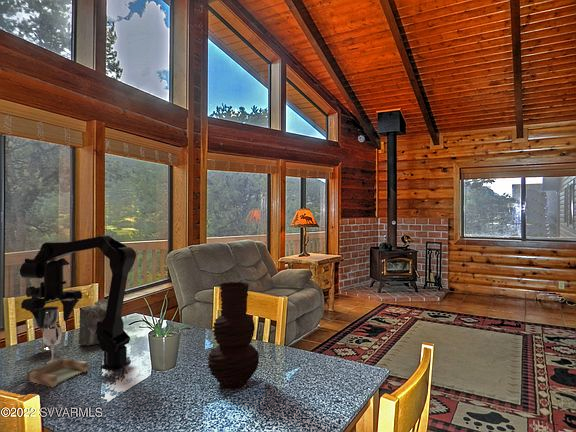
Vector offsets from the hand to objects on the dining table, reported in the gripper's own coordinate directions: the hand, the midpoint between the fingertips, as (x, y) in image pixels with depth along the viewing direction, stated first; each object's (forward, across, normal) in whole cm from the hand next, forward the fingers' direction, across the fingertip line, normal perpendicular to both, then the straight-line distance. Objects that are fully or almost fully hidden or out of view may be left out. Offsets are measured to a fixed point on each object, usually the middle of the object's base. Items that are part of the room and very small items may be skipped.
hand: (53, 324), depth 132 cm
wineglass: (+13, 0, 0) cm, 13 cm away
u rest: (+13, +8, +12) cm, 20 cm away
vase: (+14, -6, +65) cm, 67 cm away
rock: (+13, -26, -3) cm, 29 cm away
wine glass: (+13, -8, -14) cm, 21 cm away
